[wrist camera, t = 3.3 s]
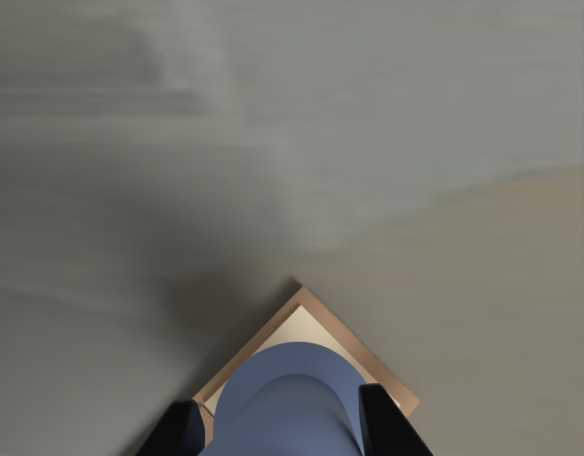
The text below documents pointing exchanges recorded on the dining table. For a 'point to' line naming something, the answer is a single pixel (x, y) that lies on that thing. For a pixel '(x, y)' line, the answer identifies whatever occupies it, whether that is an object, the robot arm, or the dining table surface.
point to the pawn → (289, 405)
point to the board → (315, 329)
